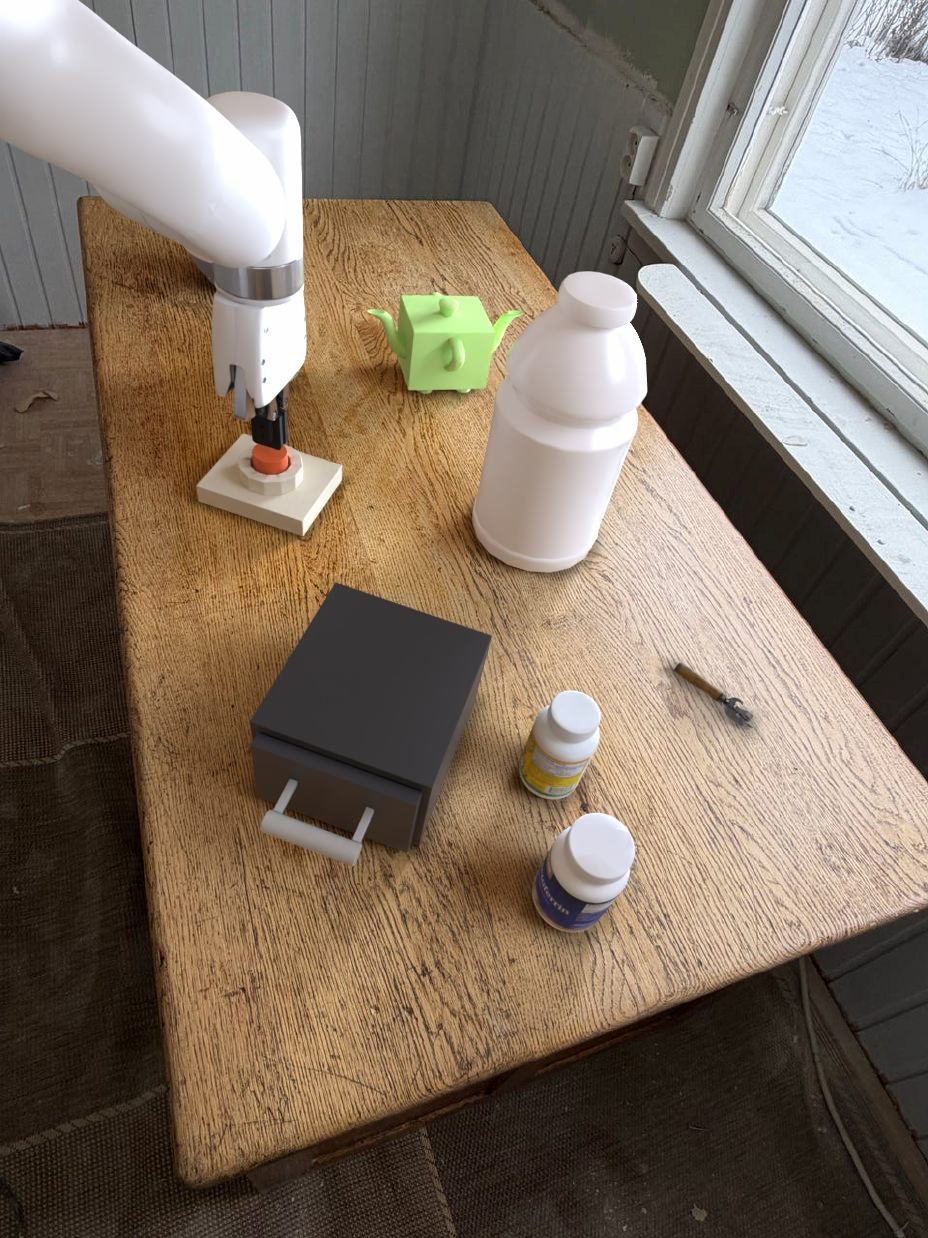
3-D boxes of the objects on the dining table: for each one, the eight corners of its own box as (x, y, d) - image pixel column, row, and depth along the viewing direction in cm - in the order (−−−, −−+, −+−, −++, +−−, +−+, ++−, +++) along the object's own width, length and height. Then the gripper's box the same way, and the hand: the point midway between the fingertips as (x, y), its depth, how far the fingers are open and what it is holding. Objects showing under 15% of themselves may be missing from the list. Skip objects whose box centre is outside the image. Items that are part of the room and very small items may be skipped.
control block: (198, 501, 82) (193, 472, 79) (244, 448, 89) (241, 419, 86) (303, 536, 81) (302, 508, 78) (342, 480, 87) (342, 452, 84)
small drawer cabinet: (418, 847, 61) (432, 788, 54) (257, 787, 62) (249, 721, 55) (474, 702, 71) (492, 635, 63) (334, 653, 72) (335, 581, 65)
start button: (246, 469, 81) (245, 455, 80) (263, 450, 83) (262, 436, 82) (278, 479, 81) (277, 466, 79) (294, 460, 83) (293, 446, 82)
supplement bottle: (556, 813, 65) (585, 755, 57) (505, 774, 66) (527, 712, 59) (590, 771, 68) (622, 710, 60) (540, 734, 69) (566, 671, 62)
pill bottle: (518, 875, 61) (546, 819, 53) (580, 851, 63) (616, 794, 55) (551, 947, 58) (586, 897, 50) (616, 919, 60) (659, 868, 52)
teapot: (511, 375, 106) (527, 302, 98) (466, 423, 98) (479, 347, 90) (414, 335, 109) (421, 260, 101) (363, 378, 101) (366, 300, 93)
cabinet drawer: (386, 906, 57) (394, 862, 51) (229, 846, 58) (218, 796, 52) (461, 715, 68) (475, 661, 62) (329, 668, 70) (329, 611, 64)
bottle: (444, 528, 85) (485, 280, 63) (515, 472, 93) (573, 234, 71) (551, 596, 80) (632, 353, 59) (616, 530, 88) (708, 296, 67)
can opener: (671, 672, 76) (675, 665, 75) (684, 660, 77) (689, 653, 76) (746, 735, 72) (751, 728, 71) (759, 722, 74) (765, 715, 73)
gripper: (259, 222, 71) (270, 394, 85) (170, 293, 62) (199, 473, 76) (335, 244, 70) (334, 414, 84) (257, 320, 61) (269, 497, 75)
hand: (270, 441), depth 80 cm, fingers closed
